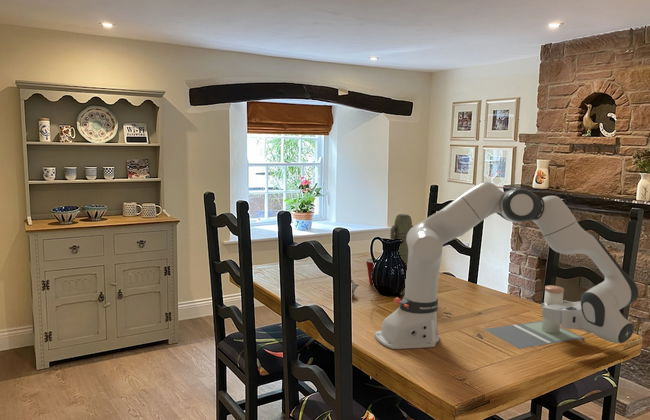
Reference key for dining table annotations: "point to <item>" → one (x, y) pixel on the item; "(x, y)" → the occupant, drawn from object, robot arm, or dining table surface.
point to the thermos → (402, 236)
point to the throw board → (531, 335)
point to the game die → (353, 286)
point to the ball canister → (552, 298)
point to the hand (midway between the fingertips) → (552, 303)
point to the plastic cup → (369, 269)
